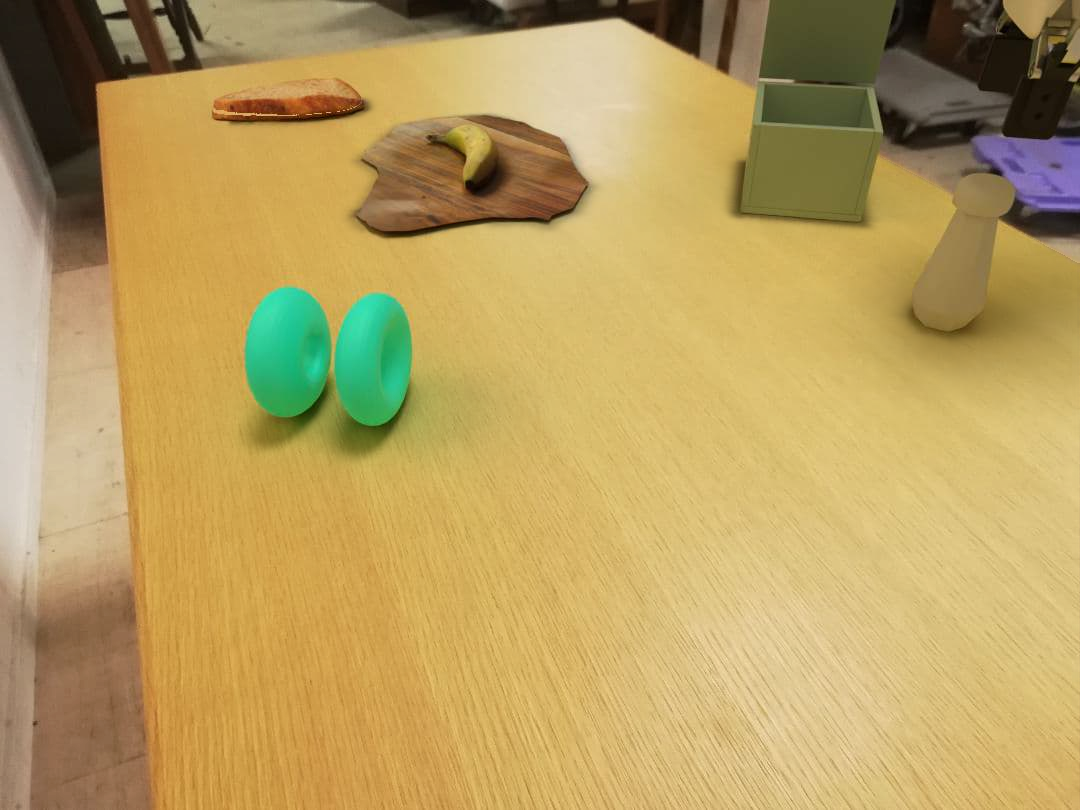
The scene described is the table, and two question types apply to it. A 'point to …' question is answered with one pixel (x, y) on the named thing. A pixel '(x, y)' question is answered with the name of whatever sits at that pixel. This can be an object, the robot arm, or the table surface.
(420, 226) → the cutting board
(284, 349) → the donuts
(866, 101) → the storage bin
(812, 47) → the box lid
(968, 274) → the salt shaker
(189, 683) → the table surface
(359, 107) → the bread slice
